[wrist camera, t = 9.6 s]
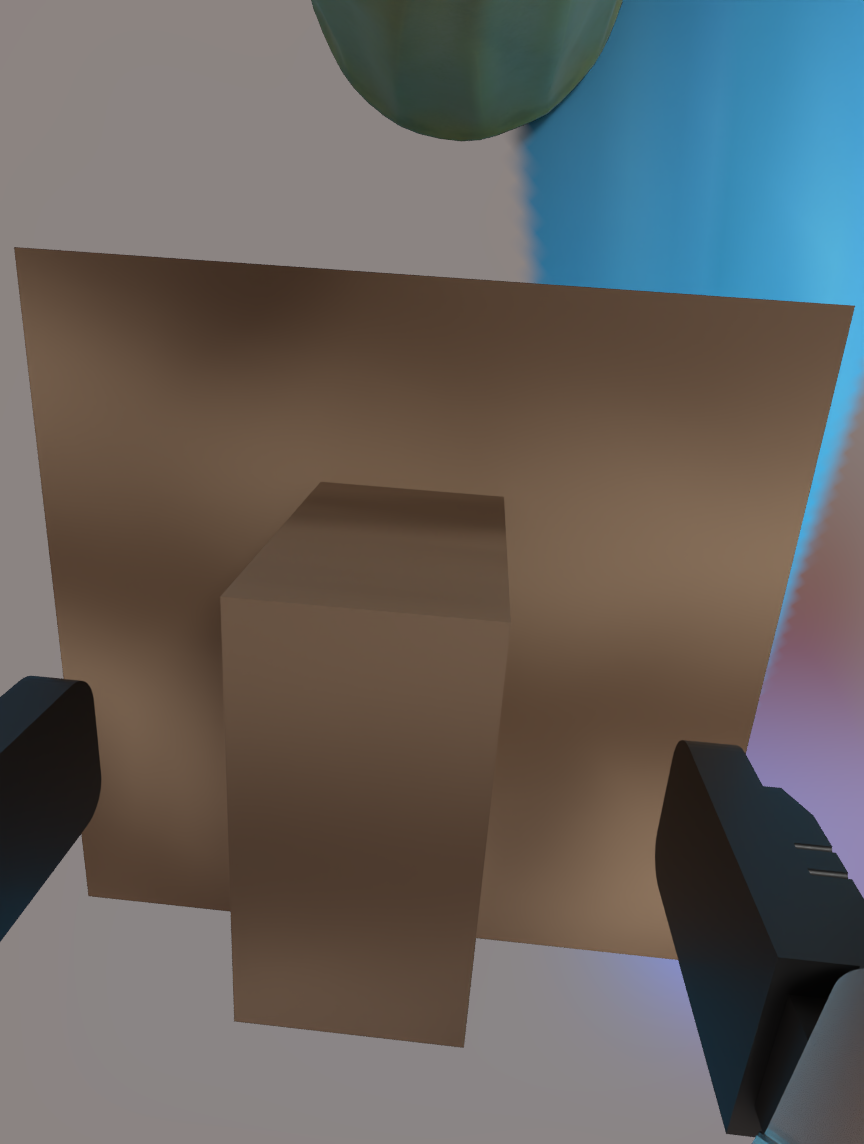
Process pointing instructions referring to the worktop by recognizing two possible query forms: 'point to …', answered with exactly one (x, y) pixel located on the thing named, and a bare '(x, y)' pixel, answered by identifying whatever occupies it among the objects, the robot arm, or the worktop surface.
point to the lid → (408, 599)
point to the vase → (465, 58)
